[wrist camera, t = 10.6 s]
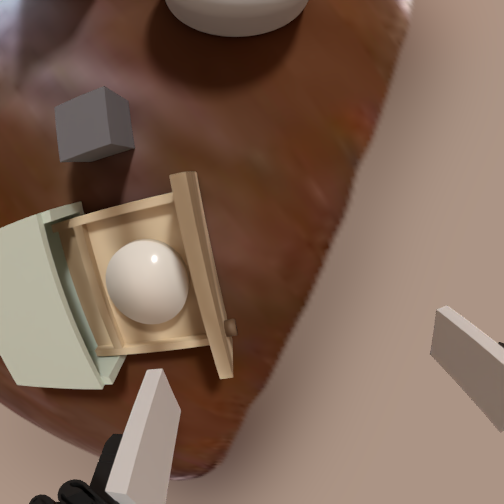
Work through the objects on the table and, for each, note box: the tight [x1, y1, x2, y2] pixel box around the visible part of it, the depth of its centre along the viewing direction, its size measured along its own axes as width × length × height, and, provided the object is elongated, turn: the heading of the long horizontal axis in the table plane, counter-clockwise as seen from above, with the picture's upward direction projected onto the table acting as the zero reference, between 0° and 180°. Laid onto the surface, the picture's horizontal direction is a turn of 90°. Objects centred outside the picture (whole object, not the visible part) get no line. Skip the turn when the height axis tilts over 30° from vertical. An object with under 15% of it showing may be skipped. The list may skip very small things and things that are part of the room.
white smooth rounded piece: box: [106, 239, 190, 324], centre depth 26 cm, size 8×8×2 cm
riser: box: [55, 86, 135, 162], centre depth 22 cm, size 5×5×6 cm
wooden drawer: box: [51, 172, 238, 379], centre depth 25 cm, size 16×18×6 cm
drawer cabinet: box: [0, 201, 127, 389], centre depth 25 cm, size 15×18×7 cm
